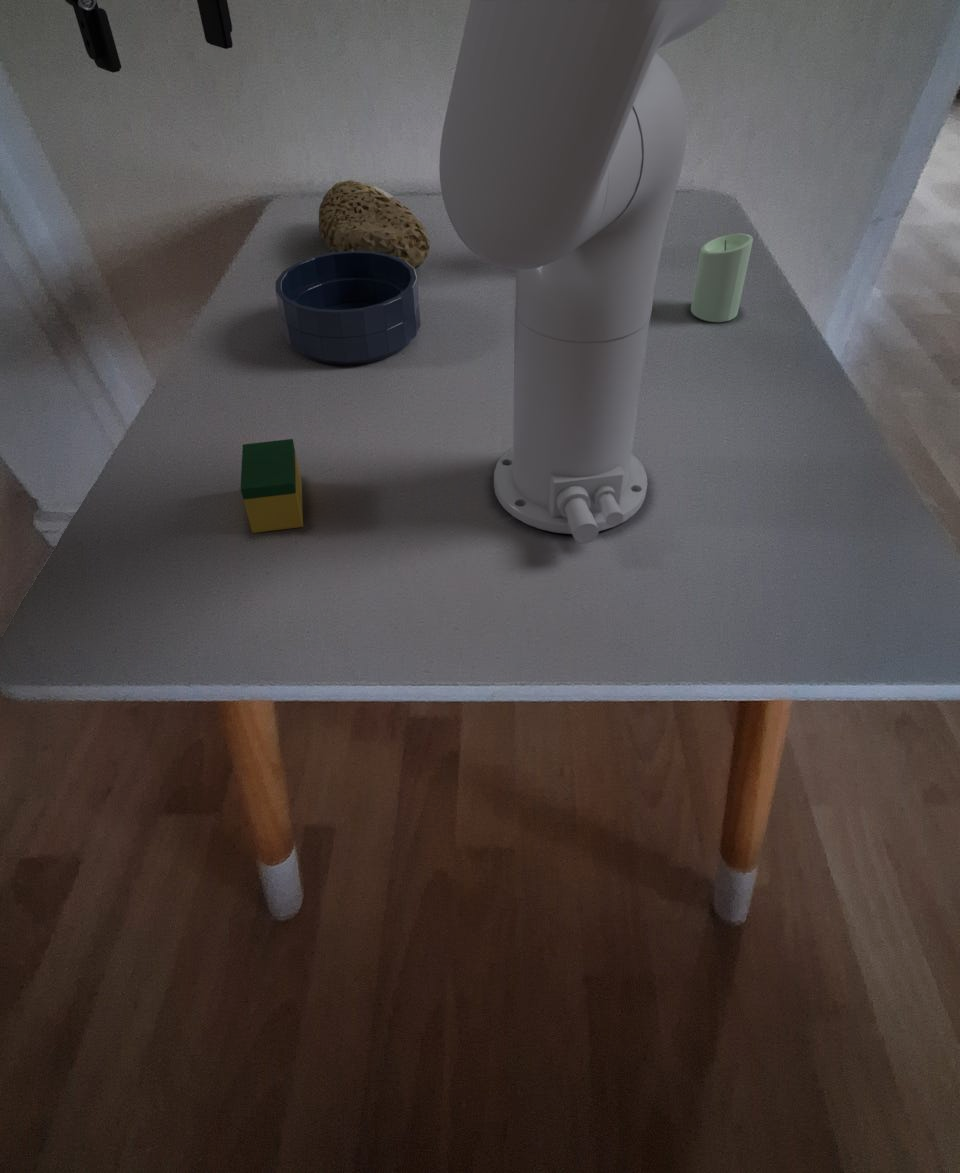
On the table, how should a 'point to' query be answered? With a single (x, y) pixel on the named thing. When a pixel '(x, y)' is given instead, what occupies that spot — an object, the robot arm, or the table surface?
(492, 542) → the table surface
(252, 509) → the scrub sponge
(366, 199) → the sponge
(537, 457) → the robot arm
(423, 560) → the table surface
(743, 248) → the candle
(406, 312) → the bowl
